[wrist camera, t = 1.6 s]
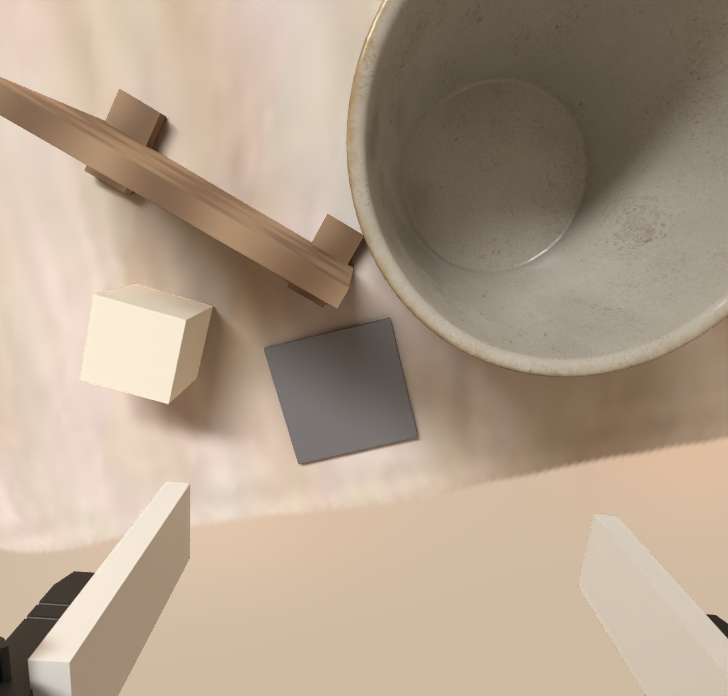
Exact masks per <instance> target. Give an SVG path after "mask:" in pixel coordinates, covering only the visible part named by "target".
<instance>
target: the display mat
mask: <svg viewBox="0 0 728 696" xmlns="http://www.w3.org/2000/svg"><path fill="white" fill-rule="evenodd" d="M264 351H265V355H266V358H267V361H268V365H269V368H270V371H271V375H272V378H273V381H274V385H275V388H276V391H277V395H278V398H279V401H280V404H281V408H282V411H283V414H284V418H285V421H286V424H287V428H288V431H289V434H290V438H291V441H292V444H293V448H294V451H295V454H296V458H297V461H298V464H301V463H306V462H310V461H315V460H319V459H323V458H328V457H332V456H337V455H341V454H346V453H350V452H354V451H359V450H363V449H368V448H372V447H377V446H381V445H385V444H390V443H394V442H399V441H403V440H408V439H412V438H416V437H418V436H417V432H416V428H415V423H414V419H413V415H412V410H411V406H410V402H409V398H408V393H407V389H406V385H405V380H404V376H403V372H402V368H401V363H400V359H399V355H398V350H397V346H396V342H395V338H394V333H393V329H392V325H391V320H390V318H387V319H383V320H379V321H375V322H370V323H366V324H362V325H358V326H354V327H350V328H345V329H341V330H337V331H333V332H329V333H325V334H320V335H316V336H312V337H308V338H304V339H300V340H295V341H291V342H287V343H283V344H279V345H274V346H270V347H266V348H264Z"/></svg>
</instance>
